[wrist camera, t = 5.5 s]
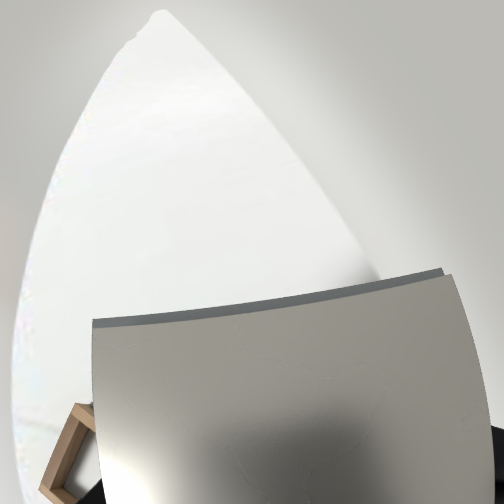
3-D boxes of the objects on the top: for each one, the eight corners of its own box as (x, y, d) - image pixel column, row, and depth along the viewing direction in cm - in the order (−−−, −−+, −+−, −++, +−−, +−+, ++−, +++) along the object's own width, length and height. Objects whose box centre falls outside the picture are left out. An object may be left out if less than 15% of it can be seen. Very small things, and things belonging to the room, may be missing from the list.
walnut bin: (196, 472, 17) (190, 477, 15) (148, 555, 12) (140, 564, 11) (88, 404, 19) (75, 402, 17) (51, 487, 14) (38, 489, 13)
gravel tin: (328, 463, 12) (501, 555, 1) (227, 480, 11) (140, 637, 1) (312, 374, 14) (458, 250, 3) (214, 388, 14) (74, 306, 3)
